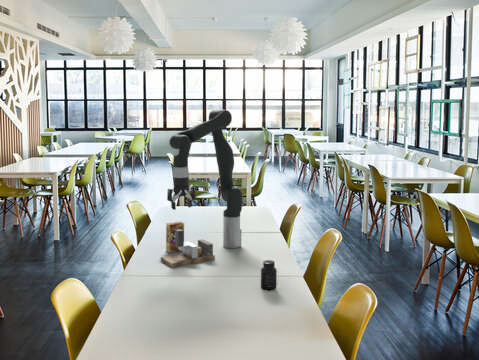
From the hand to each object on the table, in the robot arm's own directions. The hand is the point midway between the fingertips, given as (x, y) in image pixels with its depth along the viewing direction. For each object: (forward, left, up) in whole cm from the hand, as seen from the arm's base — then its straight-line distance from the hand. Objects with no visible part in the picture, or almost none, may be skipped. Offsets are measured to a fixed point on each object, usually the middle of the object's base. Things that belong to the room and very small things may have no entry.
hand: (181, 208), depth 254 cm
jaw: (-1, +1, -25) cm, 25 cm away
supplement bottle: (-14, +53, -27) cm, 61 cm away
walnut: (-8, +1, -25) cm, 26 cm away
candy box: (-5, -17, -27) cm, 32 cm away
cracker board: (-3, +1, -27) cm, 27 cm away
